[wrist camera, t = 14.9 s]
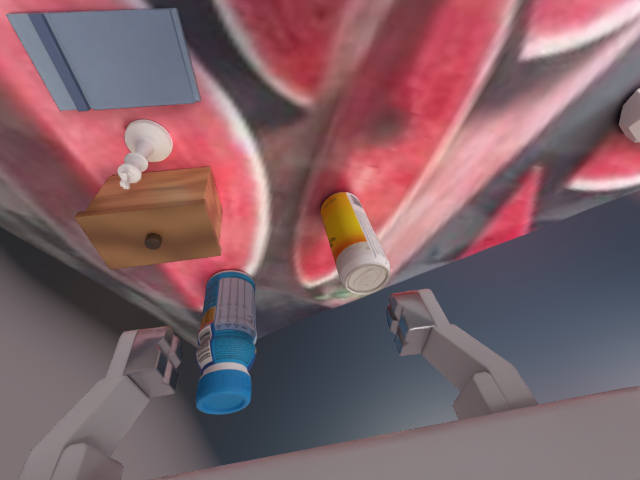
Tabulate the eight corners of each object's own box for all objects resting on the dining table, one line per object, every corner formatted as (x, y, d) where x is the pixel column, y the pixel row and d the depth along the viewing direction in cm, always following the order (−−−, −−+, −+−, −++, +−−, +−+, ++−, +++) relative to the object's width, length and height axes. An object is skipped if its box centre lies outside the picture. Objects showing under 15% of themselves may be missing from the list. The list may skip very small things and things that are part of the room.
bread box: (105, 173, 37) (69, 223, 30) (212, 163, 38) (203, 209, 31) (132, 222, 42) (106, 276, 35) (225, 212, 43) (220, 261, 36)
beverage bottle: (250, 263, 51) (249, 383, 36) (260, 295, 56) (263, 410, 42) (198, 272, 50) (176, 398, 35) (214, 303, 56) (200, 423, 41)
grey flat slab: (10, 13, 27) (0, 14, 25) (177, 7, 28) (174, 8, 27) (63, 108, 32) (56, 113, 31) (201, 99, 33) (199, 103, 32)
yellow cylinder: (312, 214, 46) (332, 290, 35) (333, 183, 43) (362, 255, 32) (344, 227, 49) (372, 301, 38) (366, 198, 46) (403, 269, 35)
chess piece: (171, 123, 35) (150, 164, 27) (173, 163, 38) (154, 209, 30) (122, 115, 33) (85, 155, 26) (128, 156, 36) (96, 203, 29)
